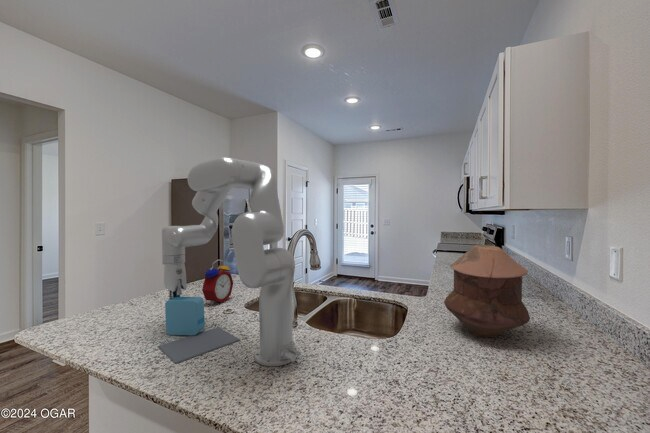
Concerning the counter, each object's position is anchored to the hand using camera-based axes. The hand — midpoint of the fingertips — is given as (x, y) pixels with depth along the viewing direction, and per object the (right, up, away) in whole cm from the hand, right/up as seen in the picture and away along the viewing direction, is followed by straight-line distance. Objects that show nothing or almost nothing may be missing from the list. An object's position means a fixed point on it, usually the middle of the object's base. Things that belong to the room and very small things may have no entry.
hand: (174, 308), depth 108 cm
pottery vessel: (+111, -6, -7) cm, 112 cm away
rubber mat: (+16, -7, -15) cm, 22 cm away
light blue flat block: (+7, -7, -7) cm, 12 cm away
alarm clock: (+5, -6, +29) cm, 30 cm away
